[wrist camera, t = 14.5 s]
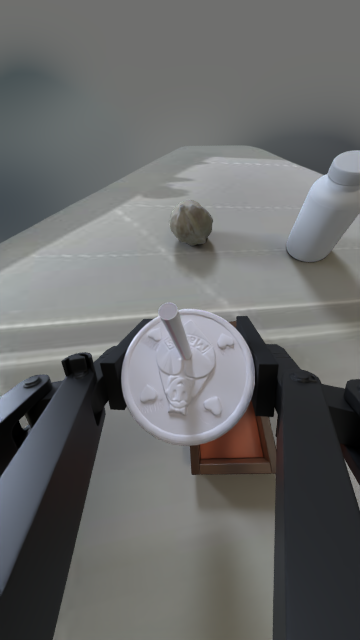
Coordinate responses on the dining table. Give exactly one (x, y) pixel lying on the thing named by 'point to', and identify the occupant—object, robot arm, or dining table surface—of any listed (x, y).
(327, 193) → the pill bottle
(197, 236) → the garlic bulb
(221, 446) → the tray
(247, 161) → the dining table surface
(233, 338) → the smoothie
